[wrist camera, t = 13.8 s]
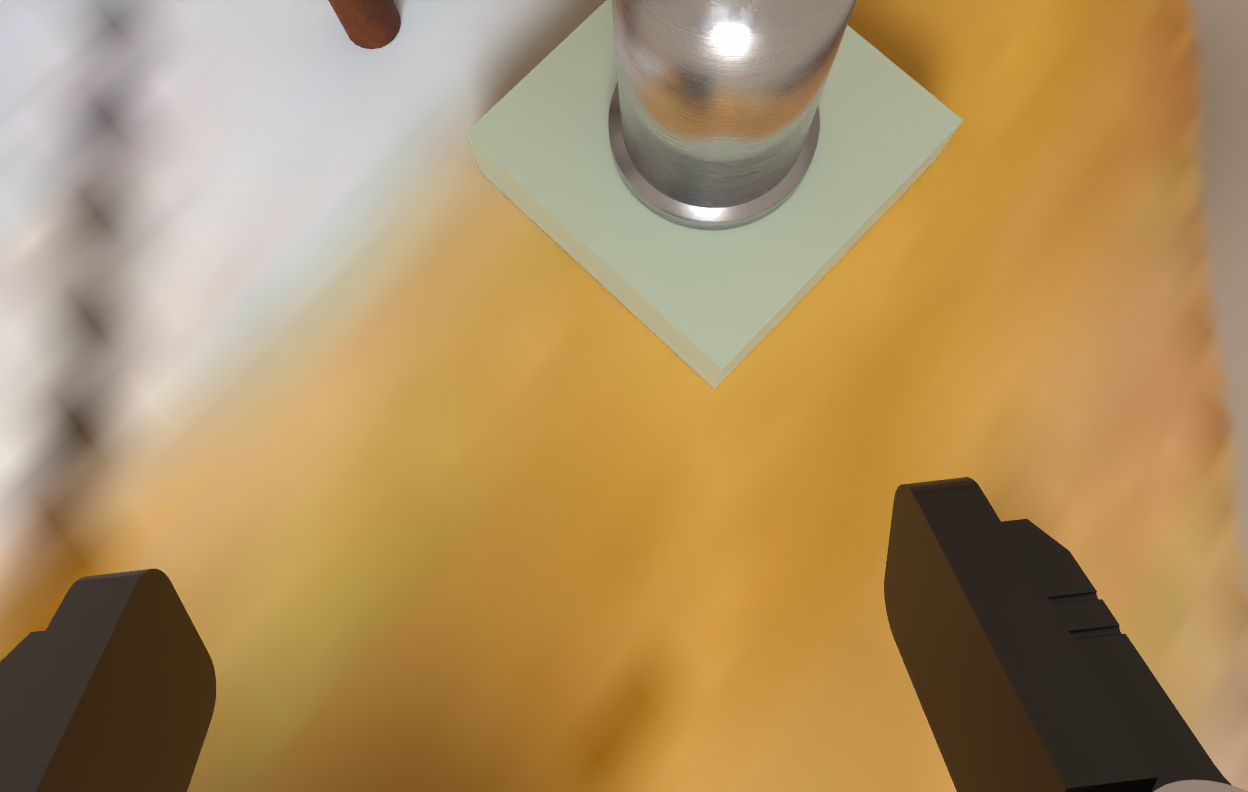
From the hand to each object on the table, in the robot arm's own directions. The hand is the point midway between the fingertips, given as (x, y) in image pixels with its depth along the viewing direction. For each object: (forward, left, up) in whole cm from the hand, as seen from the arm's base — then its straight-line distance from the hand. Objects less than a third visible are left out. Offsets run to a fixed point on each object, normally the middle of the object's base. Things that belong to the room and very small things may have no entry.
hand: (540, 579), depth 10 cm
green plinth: (-7, +12, -19) cm, 24 cm away
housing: (-7, +12, -16) cm, 21 cm away
